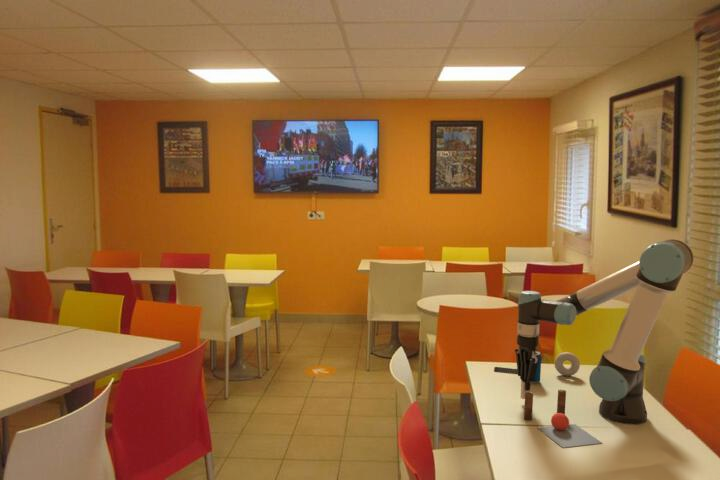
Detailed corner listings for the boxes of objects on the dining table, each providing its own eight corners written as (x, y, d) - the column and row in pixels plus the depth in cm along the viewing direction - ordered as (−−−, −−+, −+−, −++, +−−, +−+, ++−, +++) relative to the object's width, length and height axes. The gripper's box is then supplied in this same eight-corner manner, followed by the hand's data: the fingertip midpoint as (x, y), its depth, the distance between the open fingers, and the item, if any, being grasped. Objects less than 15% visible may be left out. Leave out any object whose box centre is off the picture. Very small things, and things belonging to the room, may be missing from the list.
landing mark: (602, 443, 178) (602, 442, 178) (562, 448, 175) (562, 447, 175) (574, 424, 192) (574, 424, 192) (537, 428, 188) (537, 427, 188)
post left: (533, 420, 194) (534, 394, 193) (526, 421, 193) (527, 395, 192) (529, 417, 197) (530, 392, 196) (522, 418, 196) (523, 392, 195)
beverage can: (540, 384, 228) (542, 355, 227) (523, 383, 230) (525, 354, 228) (539, 379, 235) (540, 350, 233) (522, 377, 236) (524, 349, 235)
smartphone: (528, 375, 239) (493, 371, 243) (528, 376, 239) (493, 373, 243) (528, 370, 245) (494, 366, 249) (528, 371, 246) (494, 367, 249)
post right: (566, 417, 197) (567, 392, 196) (559, 418, 197) (560, 392, 196) (561, 414, 200) (563, 389, 199) (555, 415, 199) (556, 389, 198)
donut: (578, 375, 240) (580, 352, 239) (579, 378, 237) (581, 354, 235) (553, 373, 242) (554, 350, 241) (554, 375, 239) (555, 352, 238)
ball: (561, 414, 191) (565, 431, 189) (546, 415, 190) (550, 432, 188) (569, 410, 187) (574, 428, 184) (554, 412, 185) (558, 429, 183)
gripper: (509, 330, 212) (506, 392, 214) (528, 339, 199) (525, 405, 202) (527, 329, 213) (524, 390, 216) (547, 338, 201) (544, 403, 203)
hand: (525, 397), depth 209 cm, fingers closed
